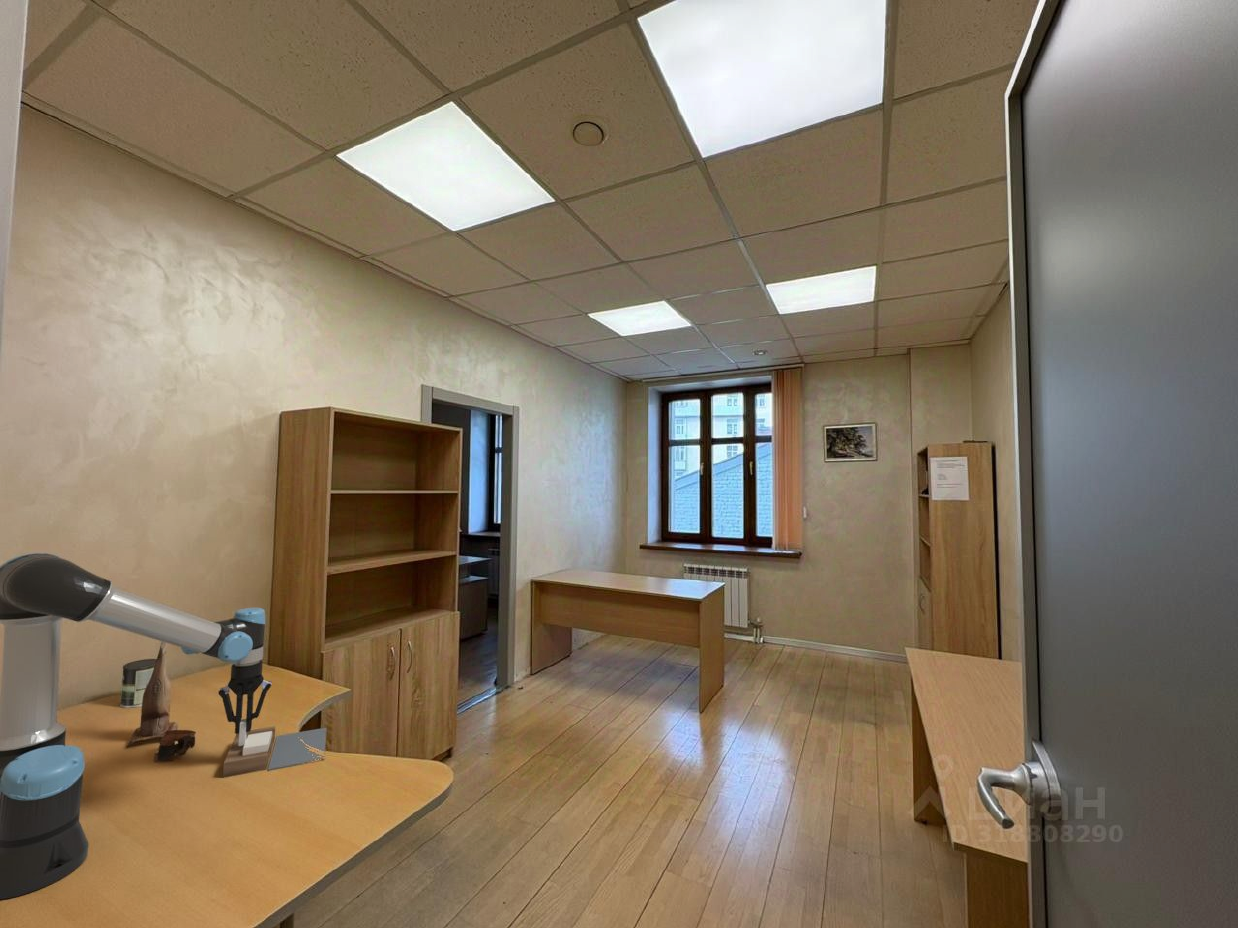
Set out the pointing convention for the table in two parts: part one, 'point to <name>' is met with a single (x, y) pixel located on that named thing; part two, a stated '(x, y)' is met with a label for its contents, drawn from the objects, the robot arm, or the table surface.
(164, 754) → the pottery mug
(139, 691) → the coffee can
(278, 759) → the mat
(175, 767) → the table surface
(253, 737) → the white rectangular block
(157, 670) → the brown tall tapered piece
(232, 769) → the block
